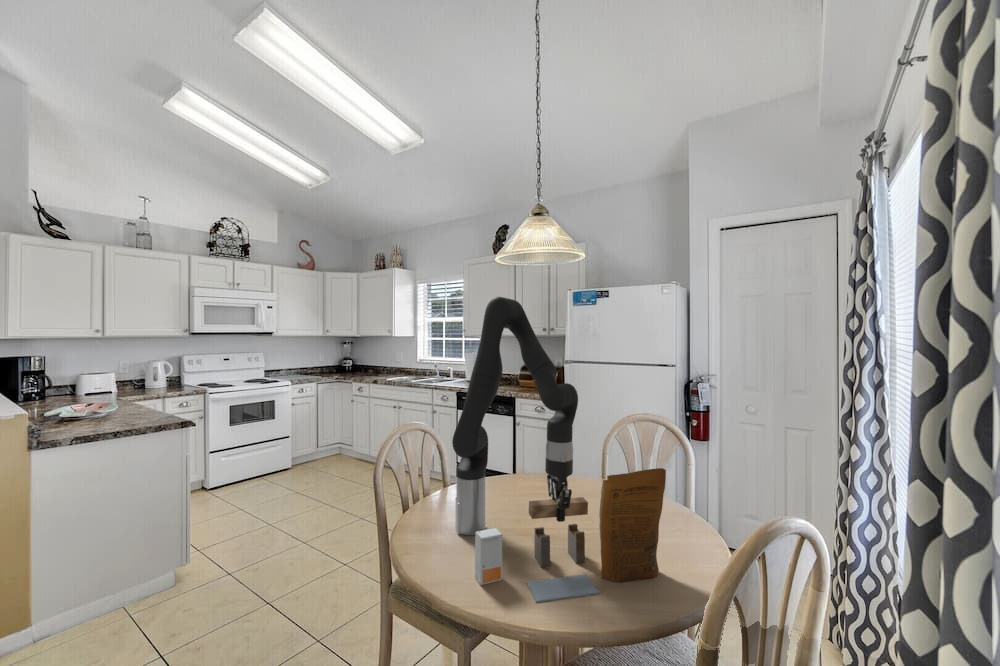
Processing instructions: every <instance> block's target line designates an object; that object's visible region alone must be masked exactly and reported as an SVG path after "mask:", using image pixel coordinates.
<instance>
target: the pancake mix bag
mask: <svg viewBox="0 0 1000 666" xmlns="http://www.w3.org/2000/svg"><path fill="white" fill-rule="evenodd" d="M666 477H667V469H665V468H661V467H660V468H651V469H650V468H649V469H643V470H637V471H632V472H627V473H619V474H610V475H606V479H603V480H602V484H601V491H600V505H599V513H598V514H599V538H600V539H599V540H600V558H601V559H600V561H601V572H600V579H602V580H605V581H607V582H611V583H624V582H625V583H626V582H631V581H632V582H634V581H639V580H649V579H655V578H657V576H658V574H659V572H660V570H659V565H658V561H657V560H658V557H657V552H658V551H657V550H658V543H659V538H660V537H659V528H660V520H661V518H662V517H661V515H662V511H663V504H664V496H665V495H664V494H665V489H666V480H667V478H666Z"/></svg>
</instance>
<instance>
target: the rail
mask: <svg viewBox="0 0 1000 666" xmlns="http://www.w3.org/2000/svg"><path fill="white" fill-rule="evenodd" d="M559 502H560V500H559ZM528 515H529V517H530V518H531V519H532V520H536V519H547V518H548V519H549V518H550V519H551V518H556V517H557V503H556V499H551V498H550V499H540V500H529V501H528ZM585 515H587V516H588V515H589V501H588V500H587V499H586V498H584V496H580V497H571V499H570V504H569V508H565V517H575V516H585Z"/></svg>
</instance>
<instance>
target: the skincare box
mask: <svg viewBox="0 0 1000 666" xmlns="http://www.w3.org/2000/svg"><path fill="white" fill-rule="evenodd" d="M500 531H501V530H499V529H498V528H497V527H495V528H485V530H483V531H477V532H475V535H474V537H475V540H474V541H475V543H474V544H475V545H474V551H475V552H474V578H475V580H476V581H477V583H478V584H479V586H483V585H487V584H491V583H496V582H501V581H502V580H503V577H502V576H503V533H502V532H500Z"/></svg>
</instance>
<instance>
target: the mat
mask: <svg viewBox="0 0 1000 666" xmlns="http://www.w3.org/2000/svg"><path fill="white" fill-rule="evenodd" d="M526 584H527V586H528V589H529V591H530V592H531V594H532V597H533V599H534V600H535V603H543V602H549V601H556V600H563V599H565V600H566V599H570V598H578V597H585V596H591V595H592V596H593V595H598V594H601V592H600V590H599V589H598V588H597V587H596V585H595V584H594V583H593V581H592V580H591V579H590V577H589V576H588V575H587V573H585V574H577V575H569V576H562V577H554V578H545V579H537V580H531V581H526Z"/></svg>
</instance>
